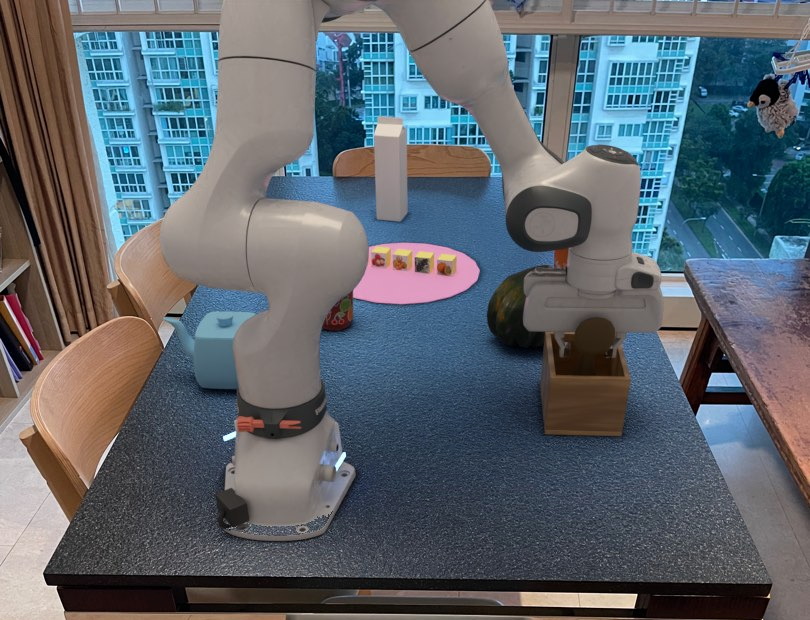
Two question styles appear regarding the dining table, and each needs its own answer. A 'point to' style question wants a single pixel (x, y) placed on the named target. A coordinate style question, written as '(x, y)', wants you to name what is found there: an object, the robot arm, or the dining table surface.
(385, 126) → the milk
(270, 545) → the dining table surface
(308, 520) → the robot arm
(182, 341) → the teapot
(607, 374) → the caddy
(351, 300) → the smoothie
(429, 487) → the dining table surface
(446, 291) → the platter
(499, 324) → the squash
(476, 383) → the dining table surface
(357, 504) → the dining table surface
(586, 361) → the kendama
